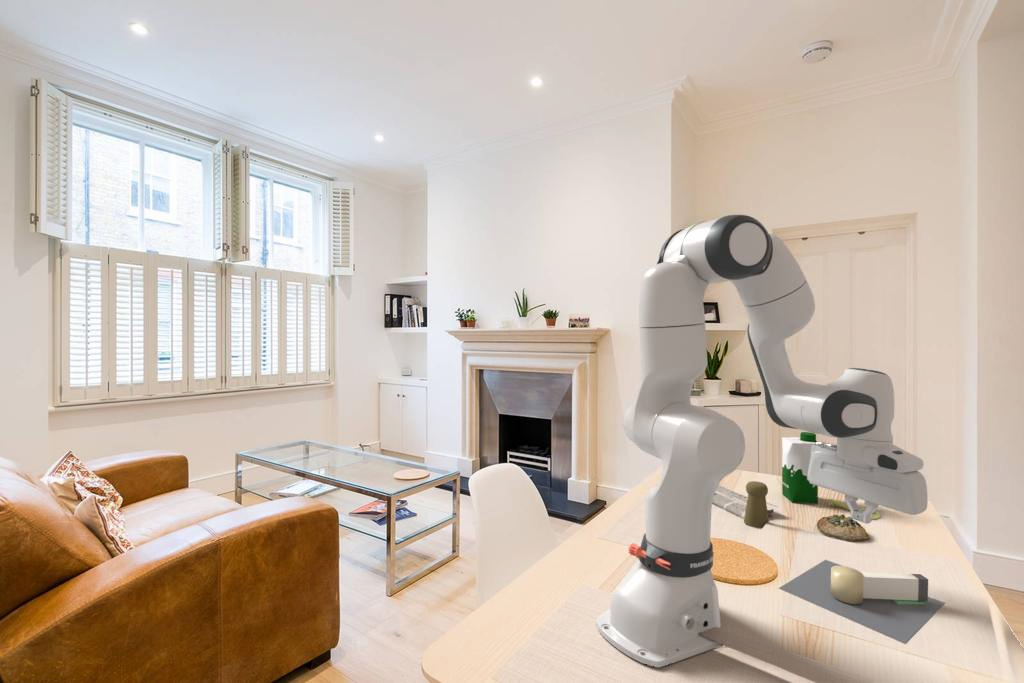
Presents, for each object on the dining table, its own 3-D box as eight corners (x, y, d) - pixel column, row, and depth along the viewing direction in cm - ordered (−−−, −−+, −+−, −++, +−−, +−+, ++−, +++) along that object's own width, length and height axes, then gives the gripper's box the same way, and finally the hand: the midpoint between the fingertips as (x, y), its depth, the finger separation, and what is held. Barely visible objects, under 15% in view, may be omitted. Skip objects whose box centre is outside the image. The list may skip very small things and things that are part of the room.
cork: (772, 529, 125) (773, 486, 125) (747, 527, 126) (747, 485, 126) (765, 520, 131) (765, 479, 130) (741, 518, 132) (741, 478, 132)
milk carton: (822, 505, 141) (824, 437, 140) (789, 503, 142) (790, 436, 142) (808, 494, 150) (809, 430, 149) (777, 493, 151) (778, 429, 150)
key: (827, 505, 142) (828, 498, 142) (880, 515, 135) (880, 508, 135) (825, 513, 137) (825, 505, 137) (879, 524, 129) (880, 516, 129)
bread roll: (827, 520, 131) (830, 502, 130) (875, 540, 121) (878, 522, 121) (806, 531, 125) (809, 513, 124) (855, 554, 115) (858, 534, 115)
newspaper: (665, 482, 163) (665, 472, 163) (696, 478, 167) (696, 468, 167) (748, 523, 130) (748, 510, 130) (783, 517, 134) (783, 504, 134)
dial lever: (840, 603, 89) (840, 578, 88) (825, 588, 94) (825, 565, 93) (934, 607, 87) (934, 582, 87) (913, 592, 92) (914, 568, 92)
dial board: (905, 652, 78) (905, 641, 78) (778, 595, 94) (778, 586, 94) (945, 610, 89) (945, 600, 89) (825, 566, 106) (826, 557, 106)
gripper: (802, 440, 103) (799, 504, 104) (914, 466, 85) (910, 544, 85) (821, 438, 106) (818, 501, 106) (934, 463, 87) (930, 538, 88)
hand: (860, 520), depth 96 cm, fingers closed
